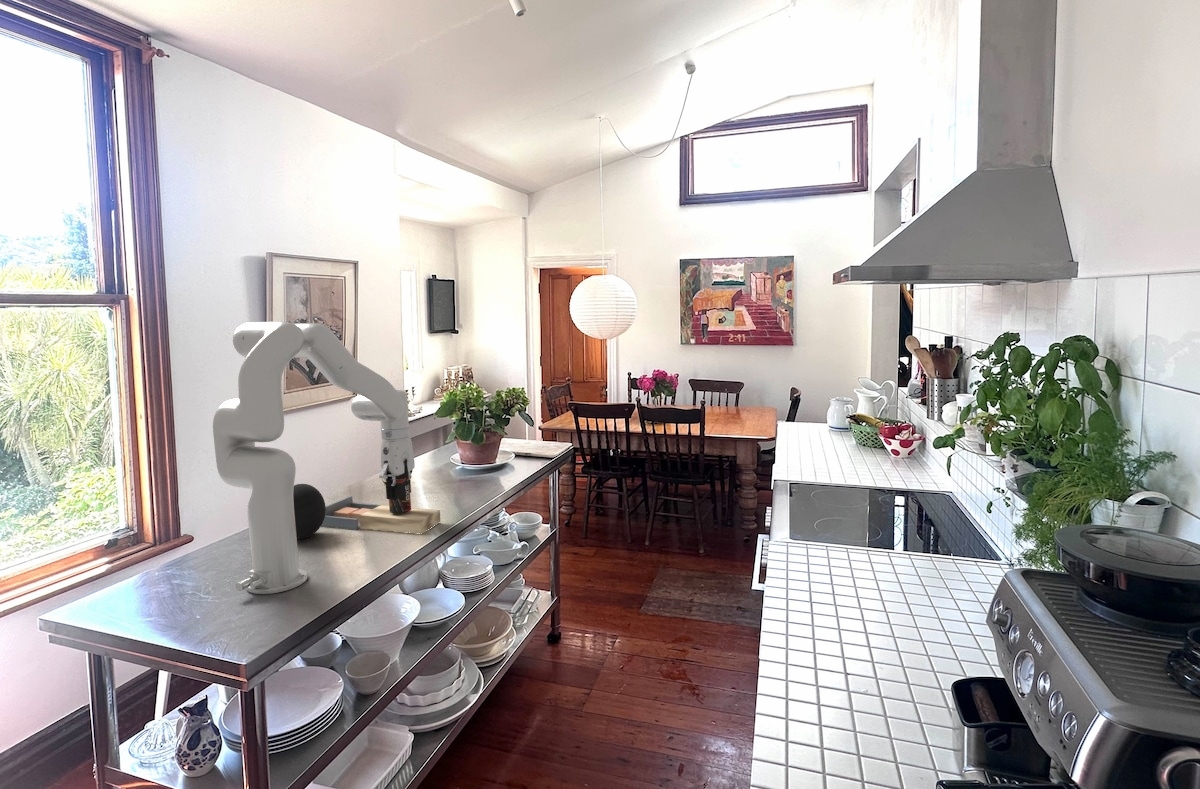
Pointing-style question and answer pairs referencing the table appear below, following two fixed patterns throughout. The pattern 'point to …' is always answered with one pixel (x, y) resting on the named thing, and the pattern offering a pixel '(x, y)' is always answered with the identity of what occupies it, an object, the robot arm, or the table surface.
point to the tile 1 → (345, 512)
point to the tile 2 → (359, 513)
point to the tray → (342, 521)
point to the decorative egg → (308, 510)
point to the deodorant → (401, 493)
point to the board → (399, 520)
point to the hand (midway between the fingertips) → (399, 495)
